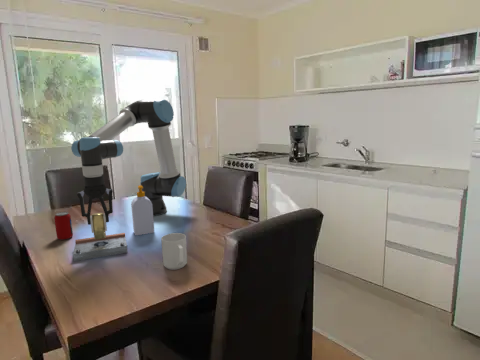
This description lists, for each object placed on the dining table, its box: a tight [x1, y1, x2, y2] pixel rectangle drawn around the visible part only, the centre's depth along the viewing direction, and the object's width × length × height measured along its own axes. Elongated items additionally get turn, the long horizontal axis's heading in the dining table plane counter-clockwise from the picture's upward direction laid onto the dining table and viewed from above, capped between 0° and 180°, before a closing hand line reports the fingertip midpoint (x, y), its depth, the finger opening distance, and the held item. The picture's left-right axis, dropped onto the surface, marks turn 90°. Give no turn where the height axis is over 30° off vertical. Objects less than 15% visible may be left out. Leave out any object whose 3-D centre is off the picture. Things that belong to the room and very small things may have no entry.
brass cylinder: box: [91, 212, 107, 239], centre depth 138 cm, size 4×4×10 cm
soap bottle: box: [130, 184, 155, 236], centre depth 159 cm, size 9×7×23 cm
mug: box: [160, 232, 188, 271], centre depth 122 cm, size 12×9×11 cm
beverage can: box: [53, 211, 74, 241], centre depth 155 cm, size 7×7×12 cm
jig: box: [72, 232, 129, 262], centre depth 139 cm, size 20×14×4 cm
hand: (99, 230), depth 138 cm, fingers closed on brass cylinder, 4 cm apart
